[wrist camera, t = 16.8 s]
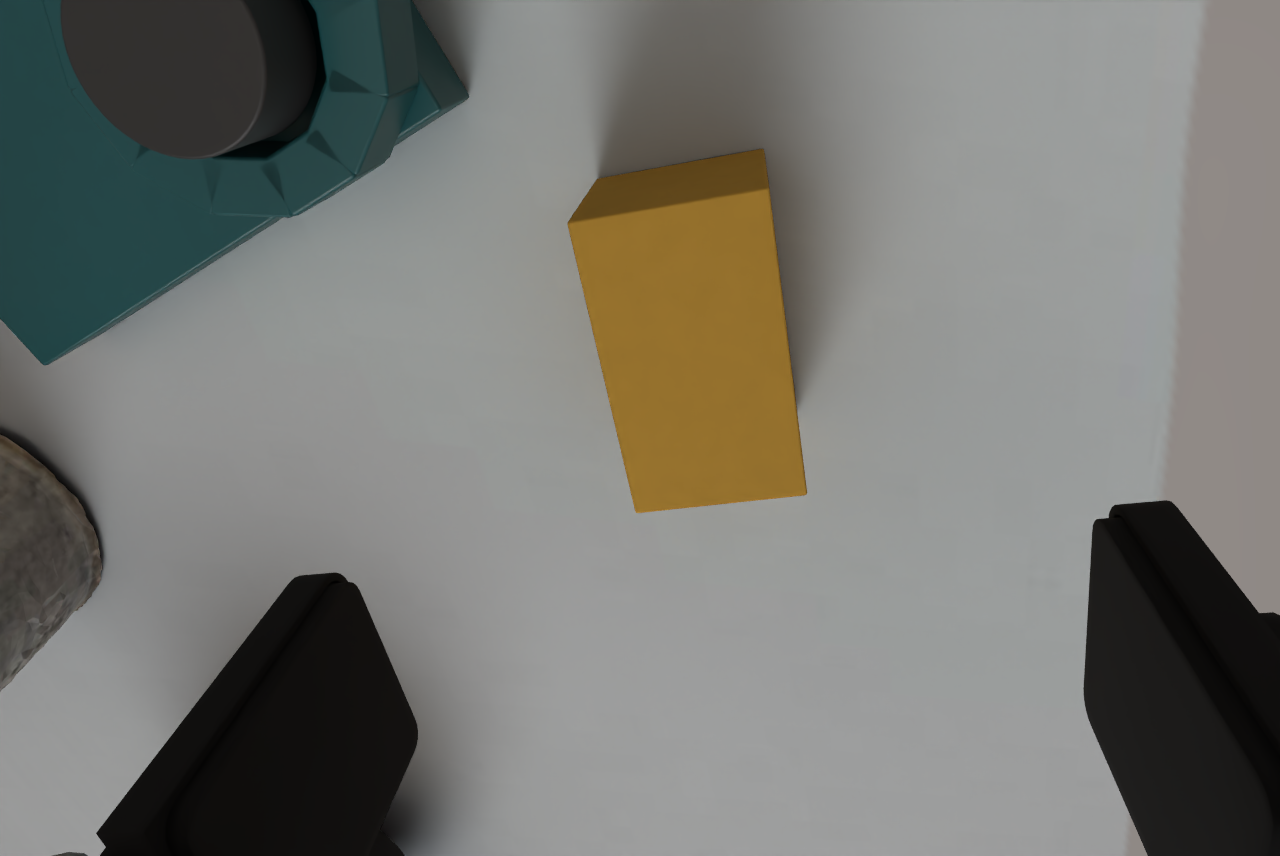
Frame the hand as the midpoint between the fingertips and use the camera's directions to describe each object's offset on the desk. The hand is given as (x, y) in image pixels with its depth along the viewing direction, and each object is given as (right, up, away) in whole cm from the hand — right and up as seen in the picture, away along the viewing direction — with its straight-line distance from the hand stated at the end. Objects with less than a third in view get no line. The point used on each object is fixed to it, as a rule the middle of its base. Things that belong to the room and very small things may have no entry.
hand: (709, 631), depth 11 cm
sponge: (+1, +6, +11) cm, 12 cm away
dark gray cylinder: (-9, +10, +5) cm, 14 cm away
